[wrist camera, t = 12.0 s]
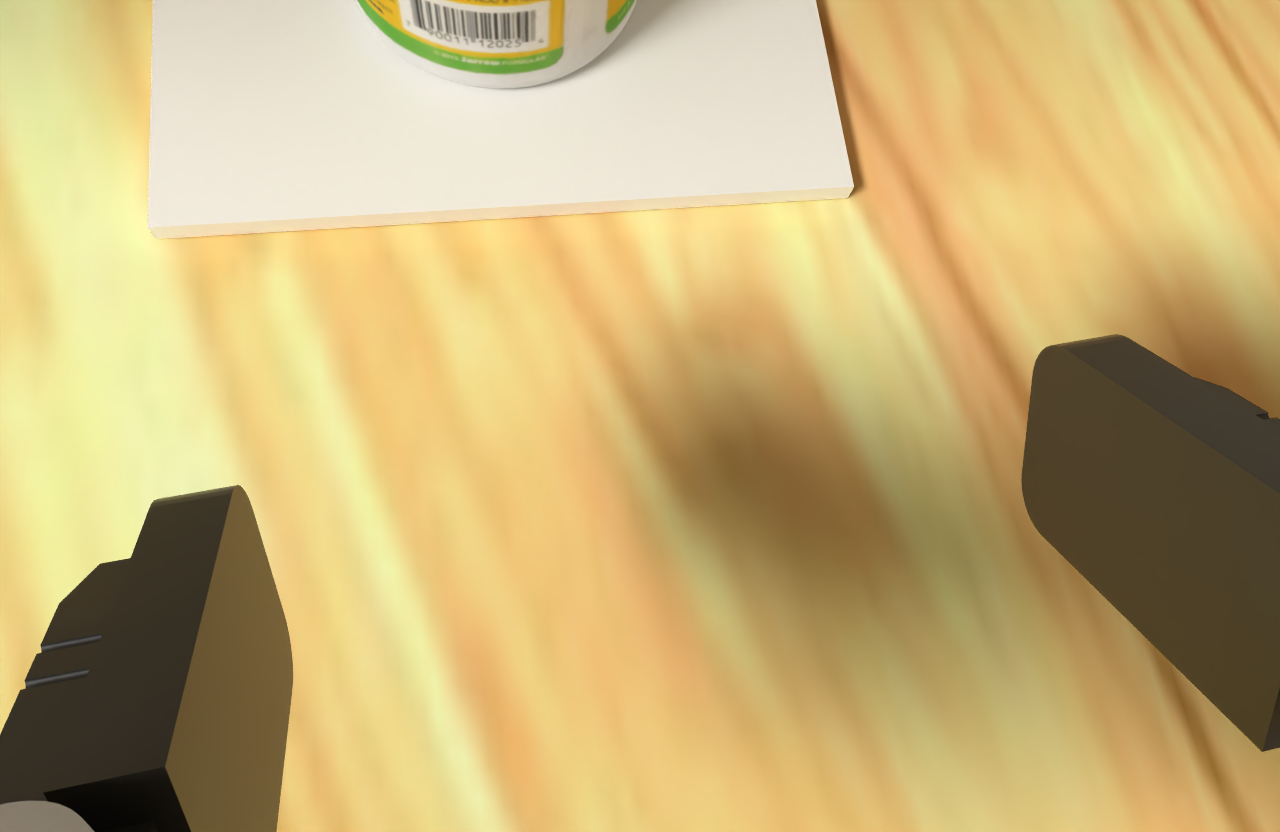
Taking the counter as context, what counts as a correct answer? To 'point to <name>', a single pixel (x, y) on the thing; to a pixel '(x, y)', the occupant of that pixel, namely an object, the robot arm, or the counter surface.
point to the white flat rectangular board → (480, 121)
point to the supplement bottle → (497, 36)
